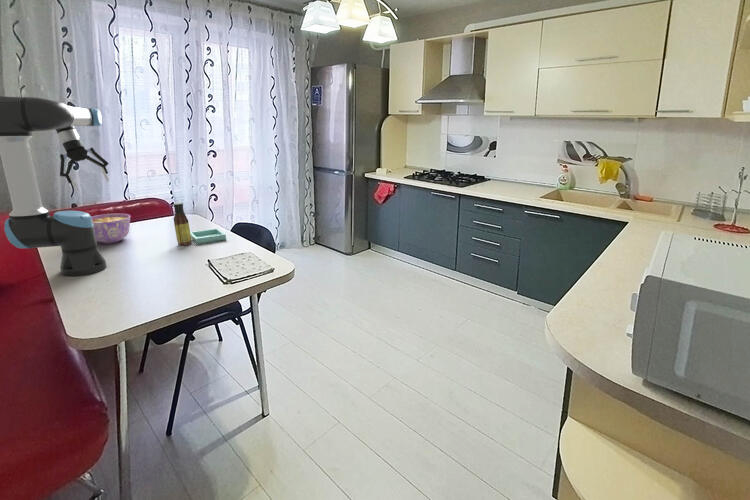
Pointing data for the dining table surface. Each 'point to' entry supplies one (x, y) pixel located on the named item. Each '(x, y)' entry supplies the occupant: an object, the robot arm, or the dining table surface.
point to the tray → (207, 236)
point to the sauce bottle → (181, 225)
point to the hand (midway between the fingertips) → (92, 185)
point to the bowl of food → (111, 227)
